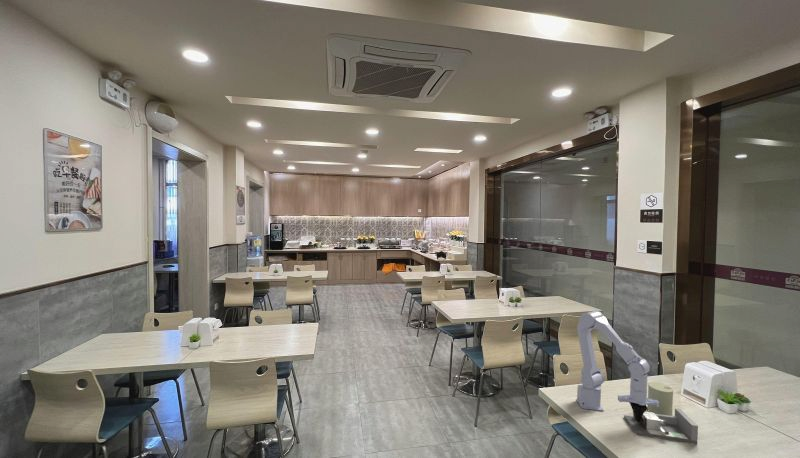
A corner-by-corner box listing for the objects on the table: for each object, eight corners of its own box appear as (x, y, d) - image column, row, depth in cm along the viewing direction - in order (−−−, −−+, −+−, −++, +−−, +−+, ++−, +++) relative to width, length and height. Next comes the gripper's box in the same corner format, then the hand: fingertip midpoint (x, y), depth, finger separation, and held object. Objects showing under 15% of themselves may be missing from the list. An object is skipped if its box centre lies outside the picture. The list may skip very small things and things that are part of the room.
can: (677, 418, 147) (678, 392, 147) (653, 416, 149) (654, 389, 149) (665, 407, 156) (666, 382, 156) (643, 404, 158) (644, 379, 158)
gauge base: (636, 434, 136) (636, 417, 136) (624, 417, 148) (624, 401, 147) (697, 444, 131) (698, 425, 131) (679, 425, 142) (680, 409, 142)
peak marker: (665, 434, 133) (665, 431, 133) (661, 429, 136) (661, 427, 136) (668, 434, 133) (668, 432, 133) (664, 430, 136) (664, 427, 136)
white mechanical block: (647, 433, 134) (648, 423, 134) (637, 419, 144) (637, 410, 143) (673, 437, 132) (674, 427, 132) (661, 423, 141) (661, 413, 141)
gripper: (622, 390, 138) (621, 422, 139) (663, 395, 135) (662, 428, 135) (616, 382, 145) (615, 413, 146) (654, 387, 142) (653, 418, 142)
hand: (637, 420), depth 141 cm, fingers closed
